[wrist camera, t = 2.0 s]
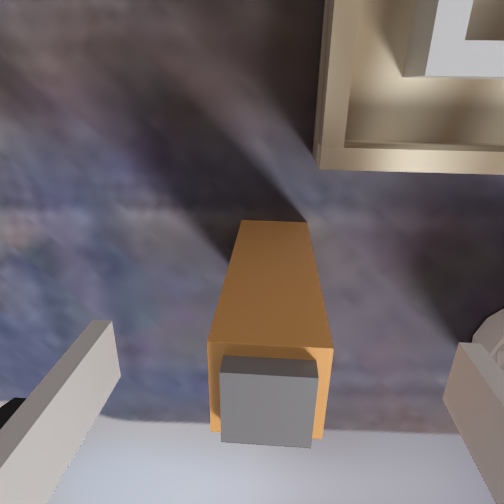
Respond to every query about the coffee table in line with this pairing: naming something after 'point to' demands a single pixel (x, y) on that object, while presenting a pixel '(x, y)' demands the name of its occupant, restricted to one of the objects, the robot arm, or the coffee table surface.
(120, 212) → the coffee table surface
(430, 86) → the box
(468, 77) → the socket
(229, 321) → the connector
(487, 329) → the white cup
